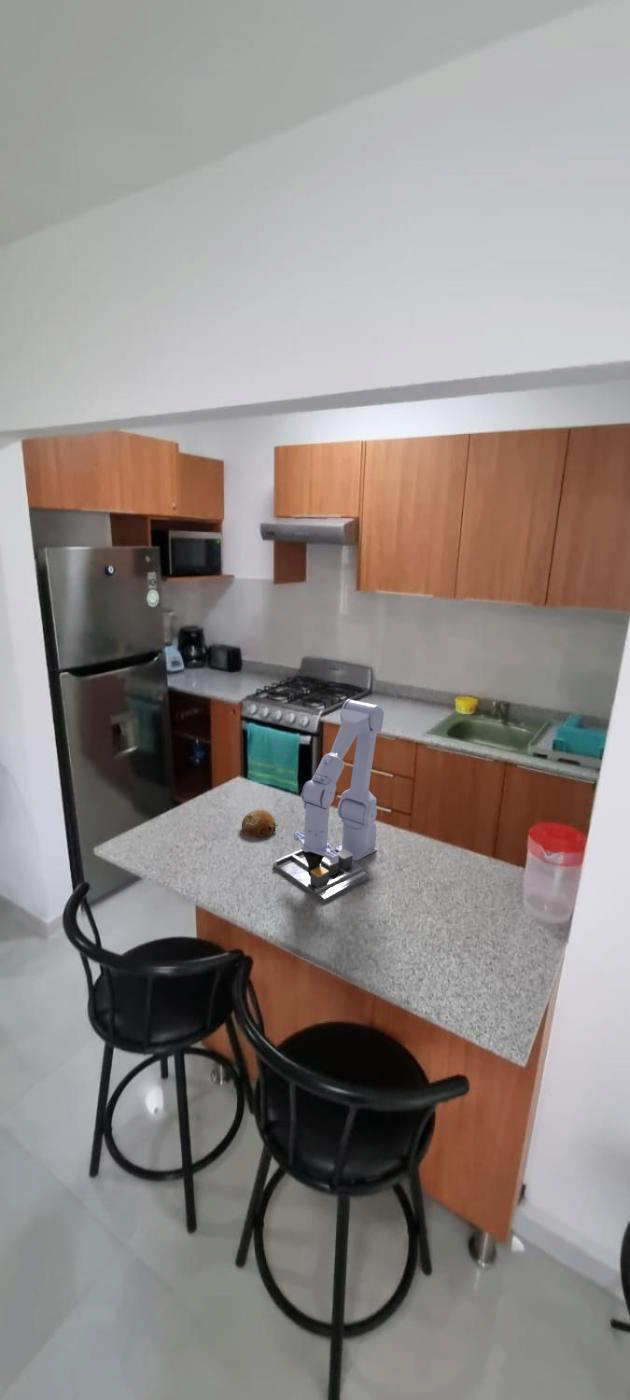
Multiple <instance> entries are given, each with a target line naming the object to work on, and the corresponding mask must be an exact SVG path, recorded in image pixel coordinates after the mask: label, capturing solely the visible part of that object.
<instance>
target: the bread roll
mask: <svg viewBox="0 0 630 1400" xmlns="http://www.w3.org/2000/svg"><path fill="white" fill-rule="evenodd" d="M277 827H278V824H277V823H276V820H275V817H274V816H273V815H272V814H271V813H270V812H269V811H268V810H267V809H266V810H265V809H255V810H251V811H250V812H249V813H247V814H246V815H245V816H244V817H243V819H242V822H241V829H242V832H243V833H244V834H245V836H248V837H252V838H256V839H257V838H267V837H269V836H271V835H273V834H274V833H275V832H277V830H276V829H277Z"/></svg>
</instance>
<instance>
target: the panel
mask: <svg viewBox="0 0 630 1400" xmlns="http://www.w3.org/2000/svg"><path fill="white" fill-rule="evenodd" d="M325 858H326V857H324V858H323V859H325ZM320 866H321V863H320ZM272 867H273V868H274V869H275V870H277V871H278V872H279V873H281V874H282V875H283V876H285V877H287V878H288V879H290V880H291V882H294V883H295V884H297V886H299V887H301V888H302V889H303V890H305V891H306V892H308V893H309V894H311V895H312V896H313V897H315V898H316V899H318V900H319V901H320V902H322V903H323V904H325V903H327V902H329V901H330V900H332V899H335V898H336V897H339V896H340V895H342V894H344V893H346V892H347V891H348V892H349V890H351V889H353V888H355V887H357V886H359V885H360V884H362V883H365V882H366V881H368V880H369V879H370V874H368V873H367V872H365V871H364V870H363V867H362V866H361V865H359V866H355V865H354V864H352V866H351V867H349V868H347V869H345V870H344V869H342V868H340V867H339V866H338V873H337V874H335V875H333V876H331V877H329V880H328V882H327V883H325V884H323V885H321V886H319V887H315V886H314V885H312V884H311V883H310V876H309V873H308V863H307V861H306V859H305V857H304V855H303V850H302V848H300V849H299V850H296V851H293V852H291V853H290V854H287V855H285V856H282V857H280V858H278V859H275V860H274V862H272Z"/></svg>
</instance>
